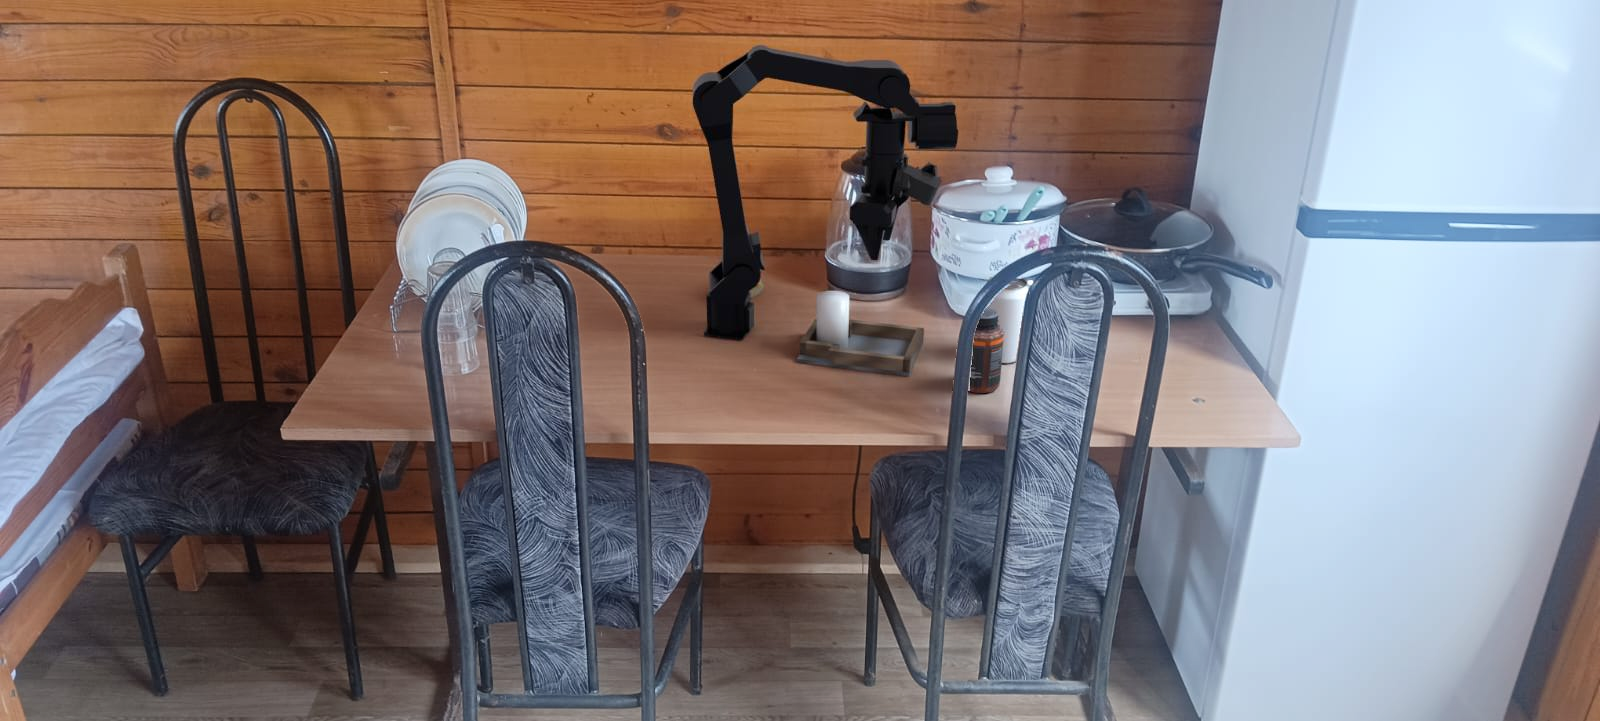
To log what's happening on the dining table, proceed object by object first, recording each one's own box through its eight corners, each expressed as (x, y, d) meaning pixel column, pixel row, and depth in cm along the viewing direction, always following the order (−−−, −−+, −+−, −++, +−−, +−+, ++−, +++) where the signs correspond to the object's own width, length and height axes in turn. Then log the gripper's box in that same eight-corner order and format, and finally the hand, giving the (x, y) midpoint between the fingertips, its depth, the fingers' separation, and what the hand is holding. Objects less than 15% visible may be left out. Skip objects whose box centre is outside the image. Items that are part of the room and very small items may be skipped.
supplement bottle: (1003, 380, 165) (1010, 307, 161) (995, 397, 160) (1002, 323, 156) (962, 373, 167) (967, 301, 162) (953, 391, 162) (958, 317, 157)
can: (1022, 366, 169) (1029, 291, 164) (977, 362, 171) (984, 287, 166) (1023, 349, 175) (1031, 275, 170) (980, 345, 176) (986, 271, 171)
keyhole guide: (796, 362, 170) (797, 346, 169) (817, 330, 180) (817, 315, 179) (909, 376, 166) (910, 360, 165) (923, 343, 177) (924, 328, 175)
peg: (812, 350, 173) (813, 300, 169) (820, 337, 177) (821, 289, 173) (843, 353, 171) (845, 304, 168) (851, 341, 176) (852, 292, 172)
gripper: (928, 171, 160) (922, 276, 166) (948, 138, 176) (942, 235, 183) (850, 164, 162) (847, 268, 169) (877, 133, 179) (873, 229, 185)
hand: (880, 249), depth 176 cm, fingers open, 9 cm apart
